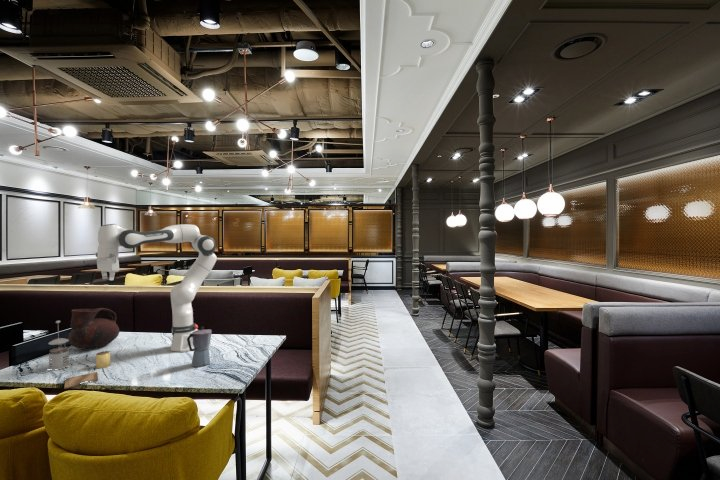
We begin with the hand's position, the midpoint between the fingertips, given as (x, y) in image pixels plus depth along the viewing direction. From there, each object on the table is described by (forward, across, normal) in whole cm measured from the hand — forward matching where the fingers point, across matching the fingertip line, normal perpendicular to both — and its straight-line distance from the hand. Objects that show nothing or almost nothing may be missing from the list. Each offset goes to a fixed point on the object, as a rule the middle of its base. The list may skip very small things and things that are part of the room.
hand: (108, 279), depth 175 cm
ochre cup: (+46, 0, +2) cm, 46 cm away
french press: (+47, +19, +15) cm, 53 cm away
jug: (+46, +42, -6) cm, 63 cm away
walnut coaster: (+46, -12, +14) cm, 50 cm away
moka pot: (+45, -42, -28) cm, 68 cm away
